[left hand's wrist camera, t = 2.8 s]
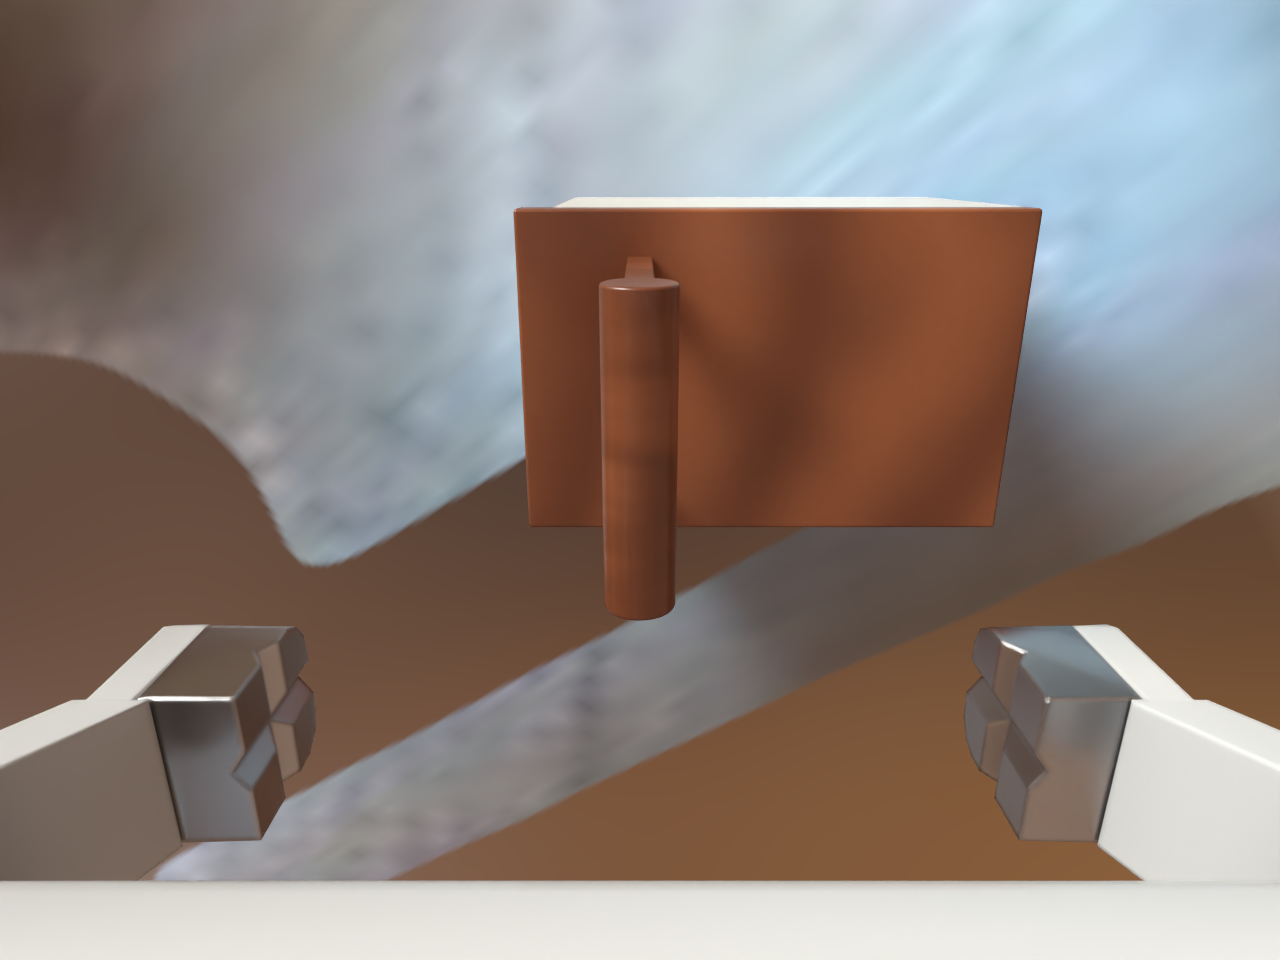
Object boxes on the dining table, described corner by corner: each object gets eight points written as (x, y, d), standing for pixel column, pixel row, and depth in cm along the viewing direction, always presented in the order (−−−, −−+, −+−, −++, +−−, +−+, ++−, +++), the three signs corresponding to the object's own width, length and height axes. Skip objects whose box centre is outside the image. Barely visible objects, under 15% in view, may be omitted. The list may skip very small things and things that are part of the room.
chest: (580, 433, 36) (561, 515, 28) (574, 197, 33) (551, 207, 24) (901, 433, 36) (981, 514, 28) (927, 197, 33) (1027, 206, 24)
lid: (532, 515, 28) (485, 665, 19) (518, 207, 24) (453, 226, 16) (981, 515, 27) (1129, 665, 19) (1027, 206, 24) (1230, 226, 16)
